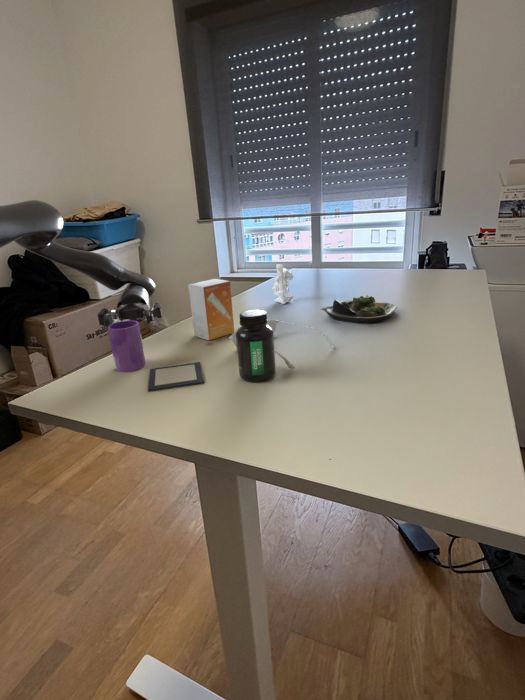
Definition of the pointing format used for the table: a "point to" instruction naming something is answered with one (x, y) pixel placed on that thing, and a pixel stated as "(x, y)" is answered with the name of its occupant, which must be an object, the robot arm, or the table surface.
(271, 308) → the table surface
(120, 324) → the tumbler
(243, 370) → the supplement bottle
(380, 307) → the salad plate
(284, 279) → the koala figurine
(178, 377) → the tablet
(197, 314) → the small box
